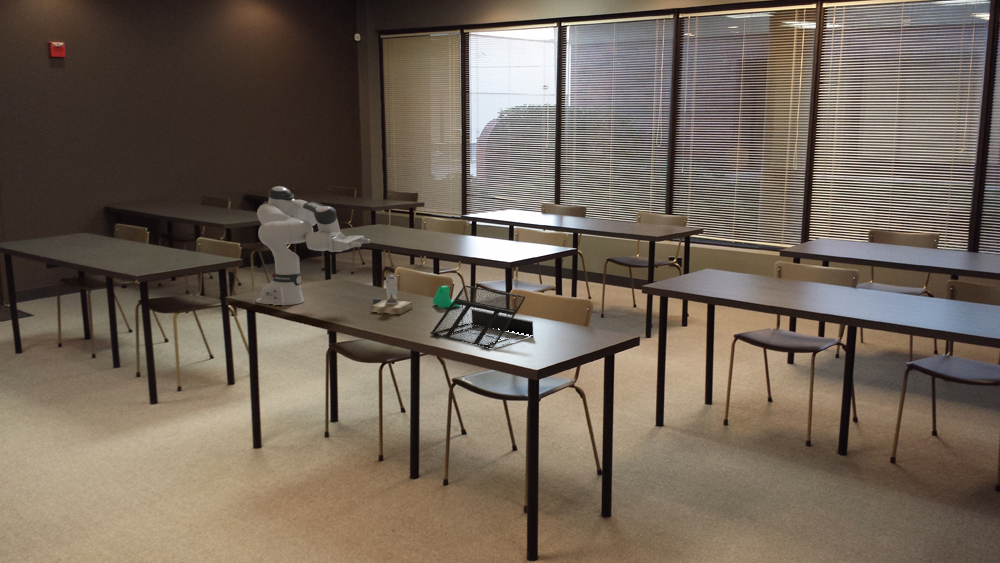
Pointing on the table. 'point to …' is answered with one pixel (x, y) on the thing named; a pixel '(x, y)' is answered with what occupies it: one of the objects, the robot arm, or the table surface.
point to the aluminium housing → (391, 290)
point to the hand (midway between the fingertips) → (365, 243)
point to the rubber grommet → (376, 301)
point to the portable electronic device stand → (484, 318)
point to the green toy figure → (443, 297)
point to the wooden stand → (391, 307)
